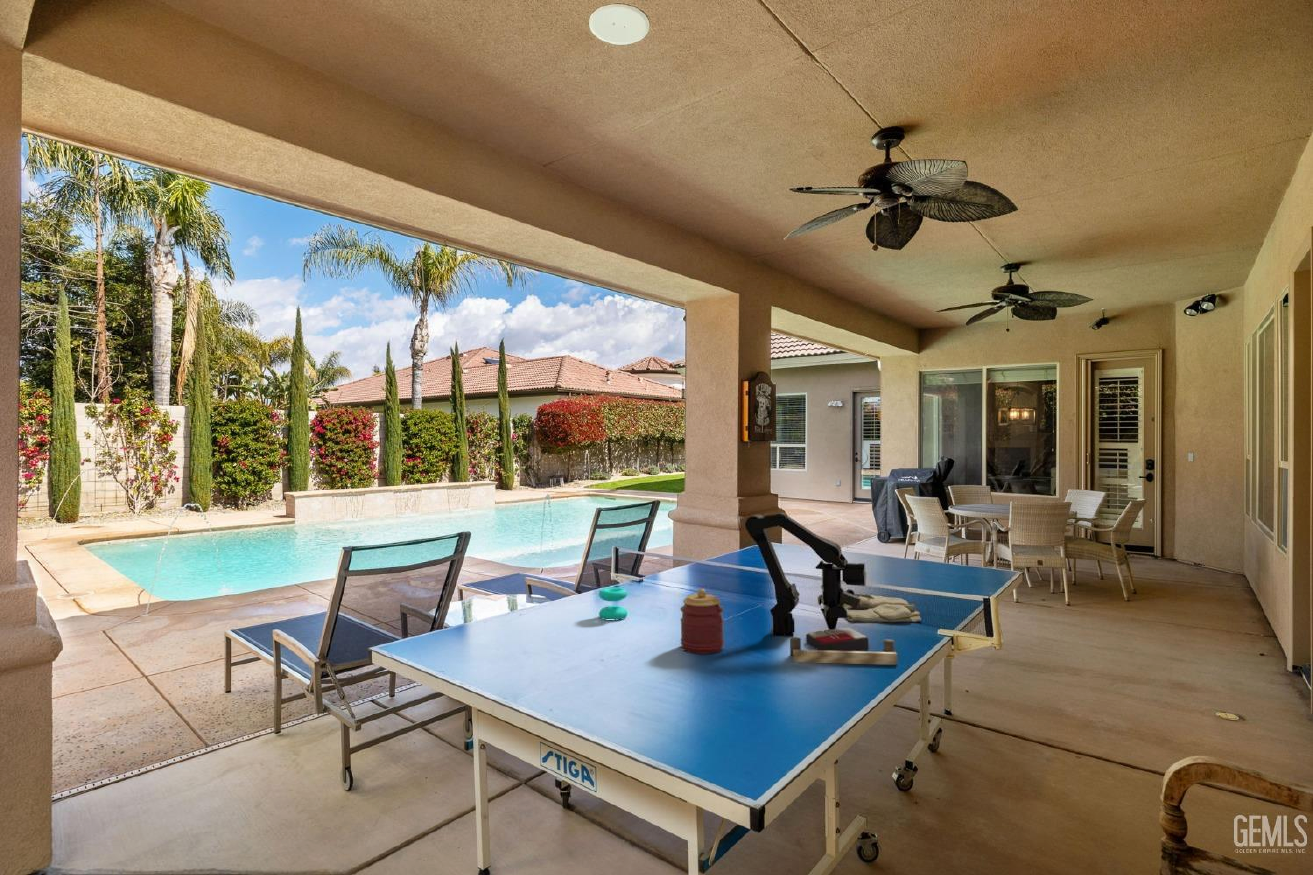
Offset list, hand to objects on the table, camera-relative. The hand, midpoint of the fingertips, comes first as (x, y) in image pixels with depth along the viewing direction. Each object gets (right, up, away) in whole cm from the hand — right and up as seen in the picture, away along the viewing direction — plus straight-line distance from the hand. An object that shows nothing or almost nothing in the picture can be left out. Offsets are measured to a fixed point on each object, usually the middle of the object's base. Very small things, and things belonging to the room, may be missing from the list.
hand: (832, 633), depth 205 cm
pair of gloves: (+25, -2, +31) cm, 40 cm away
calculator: (-1, -2, -7) cm, 8 cm away
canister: (-41, -2, -8) cm, 42 cm away
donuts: (-70, -3, +28) cm, 76 cm away
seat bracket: (-2, -1, -20) cm, 20 cm away
